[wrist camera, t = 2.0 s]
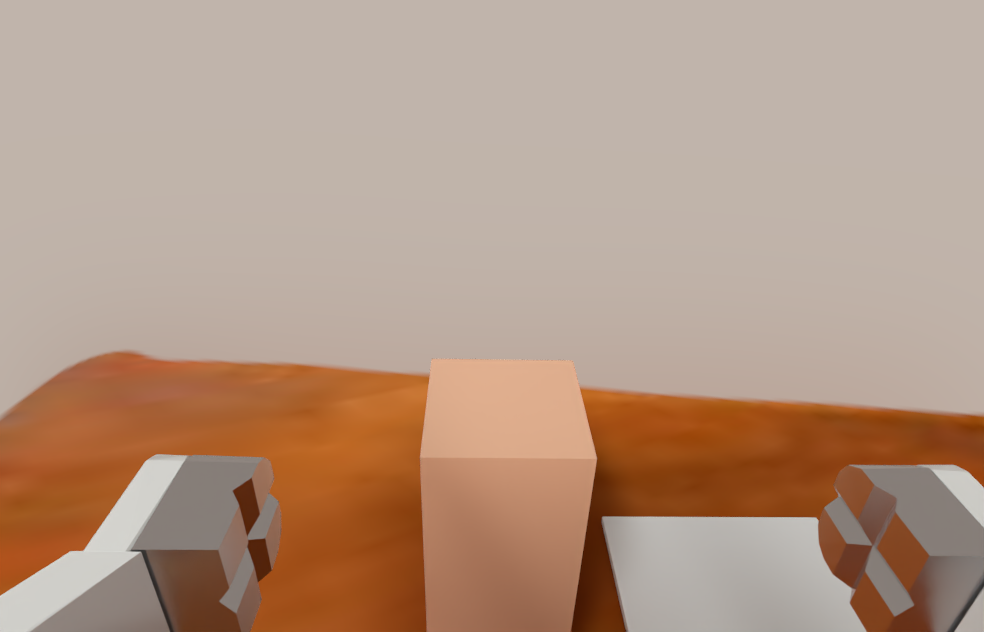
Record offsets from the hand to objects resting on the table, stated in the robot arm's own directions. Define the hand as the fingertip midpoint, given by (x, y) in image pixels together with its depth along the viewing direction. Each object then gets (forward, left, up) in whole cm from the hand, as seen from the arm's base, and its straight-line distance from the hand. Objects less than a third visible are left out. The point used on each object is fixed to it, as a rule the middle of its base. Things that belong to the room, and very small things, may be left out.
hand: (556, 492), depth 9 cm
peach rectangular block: (0, -12, -20) cm, 23 cm away
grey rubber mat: (-12, -11, -20) cm, 26 cm away
